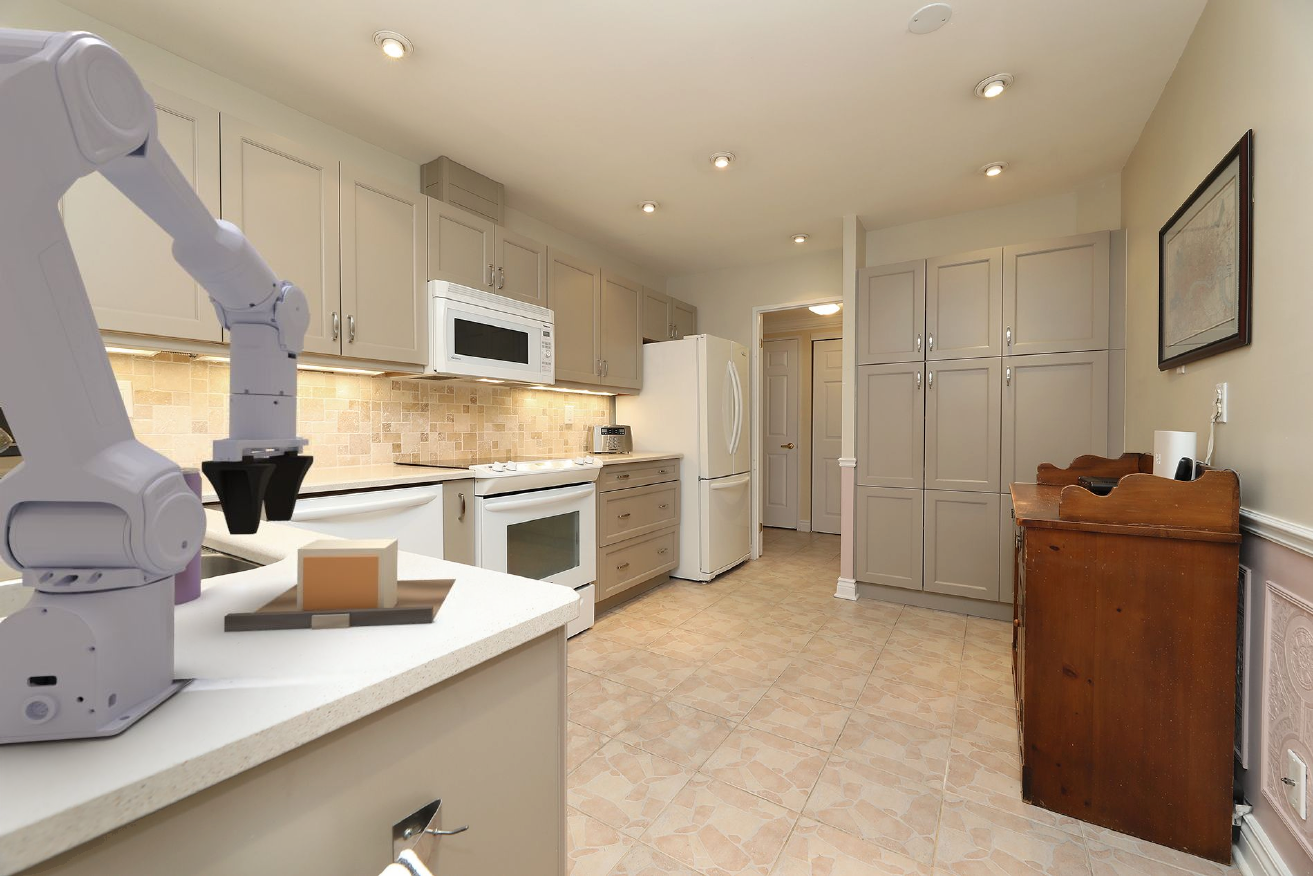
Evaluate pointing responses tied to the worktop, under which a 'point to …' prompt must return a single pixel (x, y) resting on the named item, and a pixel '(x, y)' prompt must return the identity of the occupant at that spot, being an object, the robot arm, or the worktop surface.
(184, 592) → the beverage can
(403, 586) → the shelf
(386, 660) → the worktop surface
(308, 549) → the product box
